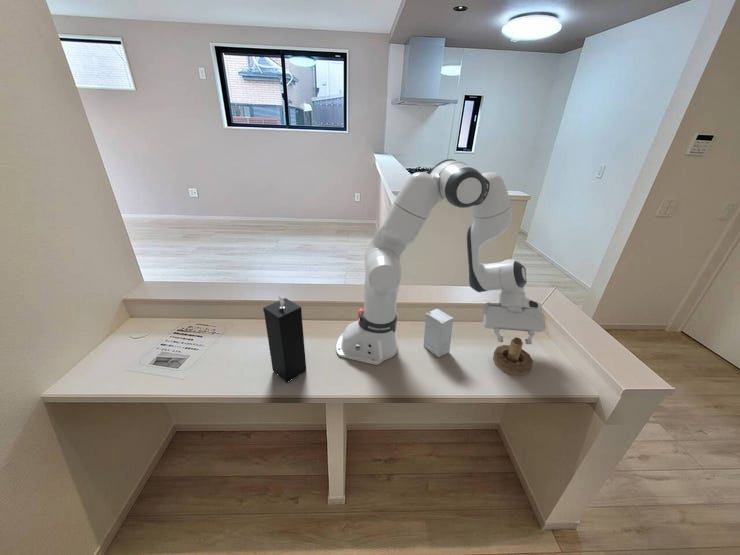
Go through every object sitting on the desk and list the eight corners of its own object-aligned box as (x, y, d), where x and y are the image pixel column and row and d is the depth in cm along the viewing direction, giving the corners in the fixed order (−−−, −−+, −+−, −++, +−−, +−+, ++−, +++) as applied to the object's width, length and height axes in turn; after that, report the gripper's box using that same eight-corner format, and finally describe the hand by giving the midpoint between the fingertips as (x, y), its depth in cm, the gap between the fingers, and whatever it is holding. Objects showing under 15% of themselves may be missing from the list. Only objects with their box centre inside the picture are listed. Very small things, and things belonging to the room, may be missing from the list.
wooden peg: (507, 365, 107) (513, 342, 103) (504, 358, 111) (510, 335, 106) (518, 366, 107) (525, 343, 103) (514, 359, 110) (521, 336, 106)
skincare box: (449, 352, 113) (455, 318, 106) (437, 358, 110) (442, 323, 103) (433, 340, 119) (438, 307, 113) (421, 345, 116) (425, 312, 110)
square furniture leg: (287, 383, 97) (277, 307, 85) (272, 371, 102) (261, 297, 90) (306, 370, 103) (300, 297, 90) (292, 359, 107) (284, 288, 95)
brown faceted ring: (498, 373, 104) (500, 366, 103) (489, 350, 115) (491, 343, 113) (535, 376, 103) (538, 369, 102) (523, 353, 114) (525, 346, 112)
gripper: (485, 299, 110) (486, 339, 105) (545, 304, 108) (549, 344, 104) (480, 304, 116) (481, 341, 111) (537, 308, 114) (540, 346, 110)
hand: (514, 342), depth 108 cm, fingers open, 8 cm apart
